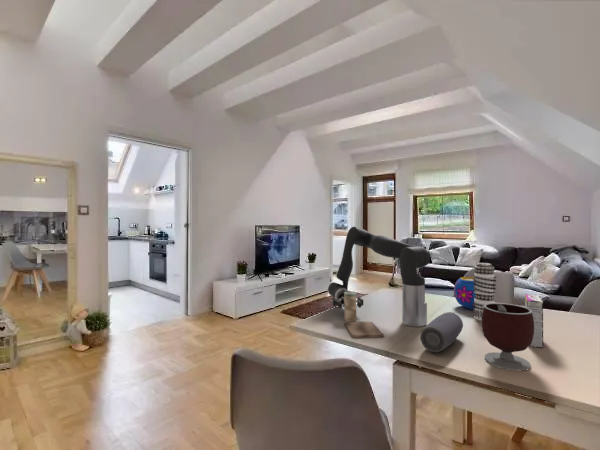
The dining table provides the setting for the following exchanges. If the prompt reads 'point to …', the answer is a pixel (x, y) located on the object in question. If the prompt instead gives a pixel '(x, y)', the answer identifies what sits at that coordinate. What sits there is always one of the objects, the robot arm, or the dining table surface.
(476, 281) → the decorative candle
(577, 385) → the dining table surface
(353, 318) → the beech block
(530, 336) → the mate gourd
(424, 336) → the bluetooth speaker
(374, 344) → the dining table surface
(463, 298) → the ceramic pot
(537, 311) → the candy bar box
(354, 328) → the walnut board
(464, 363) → the dining table surface
